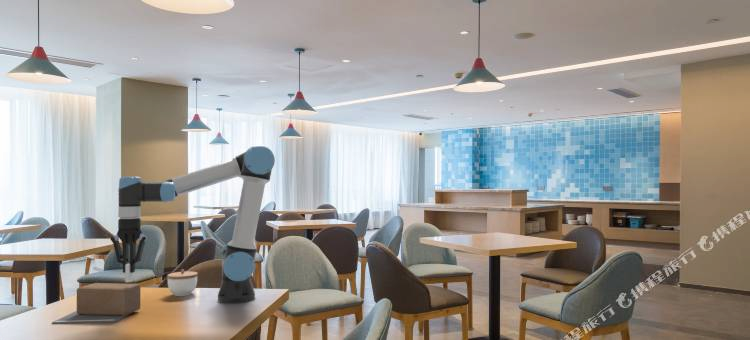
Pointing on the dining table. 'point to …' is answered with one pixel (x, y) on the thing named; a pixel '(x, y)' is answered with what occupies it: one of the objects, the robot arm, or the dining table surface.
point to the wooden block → (108, 299)
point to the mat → (87, 318)
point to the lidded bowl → (182, 282)
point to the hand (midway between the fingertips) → (128, 281)
